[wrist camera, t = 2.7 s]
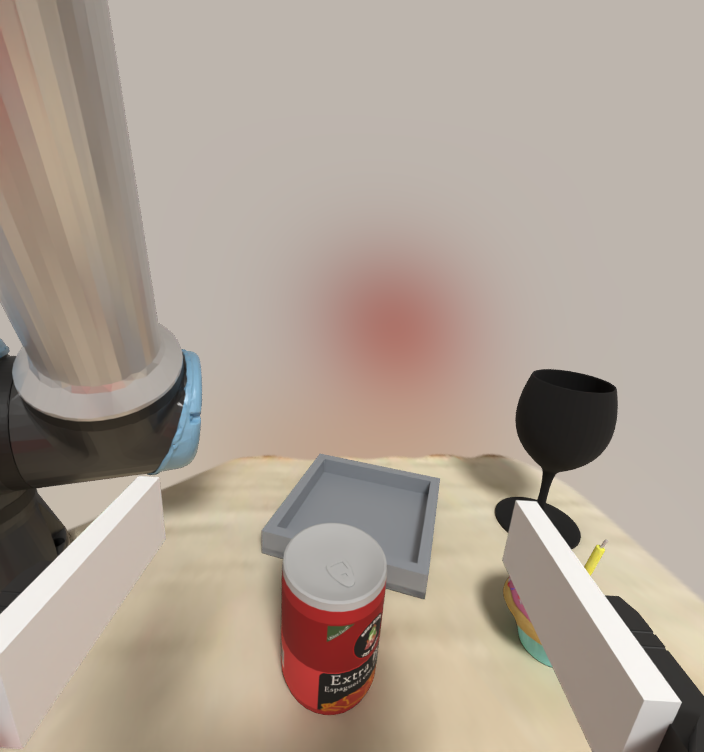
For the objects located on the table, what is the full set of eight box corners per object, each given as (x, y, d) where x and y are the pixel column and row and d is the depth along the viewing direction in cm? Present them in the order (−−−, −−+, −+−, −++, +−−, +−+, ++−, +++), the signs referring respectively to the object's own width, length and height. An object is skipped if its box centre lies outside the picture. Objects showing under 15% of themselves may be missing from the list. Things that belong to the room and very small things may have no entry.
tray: (261, 552, 42) (261, 530, 42) (319, 470, 59) (319, 453, 58) (424, 599, 38) (428, 575, 37) (437, 496, 55) (439, 478, 54)
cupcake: (580, 614, 38) (614, 511, 34) (618, 708, 30) (668, 589, 26) (490, 594, 39) (513, 494, 36) (503, 679, 31) (534, 562, 28)
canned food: (328, 746, 26) (336, 627, 23) (260, 662, 31) (259, 554, 28) (394, 666, 32) (409, 560, 28) (328, 605, 37) (333, 509, 33)
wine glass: (538, 561, 44) (582, 400, 38) (478, 506, 53) (505, 369, 47) (599, 541, 48) (647, 392, 42) (533, 493, 57) (565, 365, 51)
